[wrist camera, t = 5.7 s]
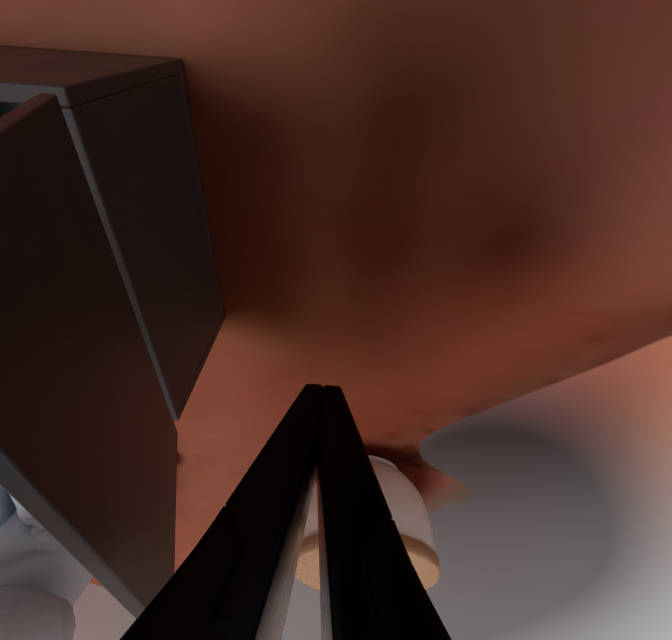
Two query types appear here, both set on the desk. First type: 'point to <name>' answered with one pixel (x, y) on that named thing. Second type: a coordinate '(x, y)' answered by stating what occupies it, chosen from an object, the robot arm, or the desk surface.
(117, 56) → the carton
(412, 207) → the desk surface
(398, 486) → the trinket box
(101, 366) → the flap
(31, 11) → the desk surface
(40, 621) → the hippo plush
